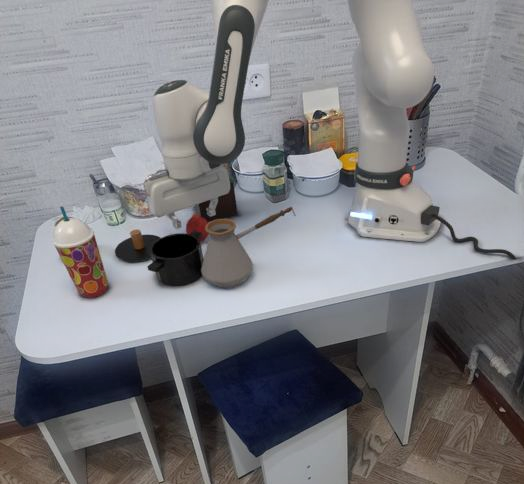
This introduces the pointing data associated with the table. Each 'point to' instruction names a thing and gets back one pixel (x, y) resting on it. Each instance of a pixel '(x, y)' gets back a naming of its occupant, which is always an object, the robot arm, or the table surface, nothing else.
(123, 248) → the pot lid
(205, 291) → the table surface
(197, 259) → the pot
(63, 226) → the smoothie
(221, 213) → the coffee grinder
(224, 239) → the coffee pot
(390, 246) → the table surface
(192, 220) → the red rounded piece
